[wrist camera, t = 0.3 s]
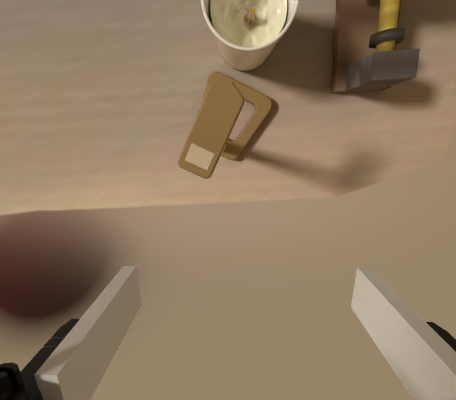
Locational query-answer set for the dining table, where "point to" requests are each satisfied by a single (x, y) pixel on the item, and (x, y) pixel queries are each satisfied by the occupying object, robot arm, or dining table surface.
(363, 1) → the rail
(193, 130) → the headphone stand
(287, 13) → the candle holder
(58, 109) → the dining table surface
